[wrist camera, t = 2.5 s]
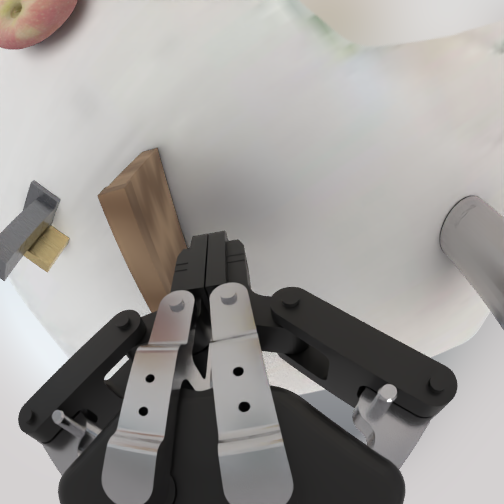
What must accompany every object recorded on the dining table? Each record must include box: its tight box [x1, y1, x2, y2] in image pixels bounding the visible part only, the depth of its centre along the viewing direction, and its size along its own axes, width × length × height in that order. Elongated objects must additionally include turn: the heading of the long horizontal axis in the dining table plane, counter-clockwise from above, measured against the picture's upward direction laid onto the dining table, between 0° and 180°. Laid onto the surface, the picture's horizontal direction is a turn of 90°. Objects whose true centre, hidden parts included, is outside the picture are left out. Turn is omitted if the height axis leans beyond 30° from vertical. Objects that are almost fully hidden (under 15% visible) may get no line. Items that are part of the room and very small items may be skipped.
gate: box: [98, 148, 213, 382], centre depth 23 cm, size 20×2×10 cm, turn 8°
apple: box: [0, 0, 78, 49], centre depth 9 cm, size 8×8×8 cm
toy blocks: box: [0, 181, 69, 281], centre depth 20 cm, size 7×5×10 cm
